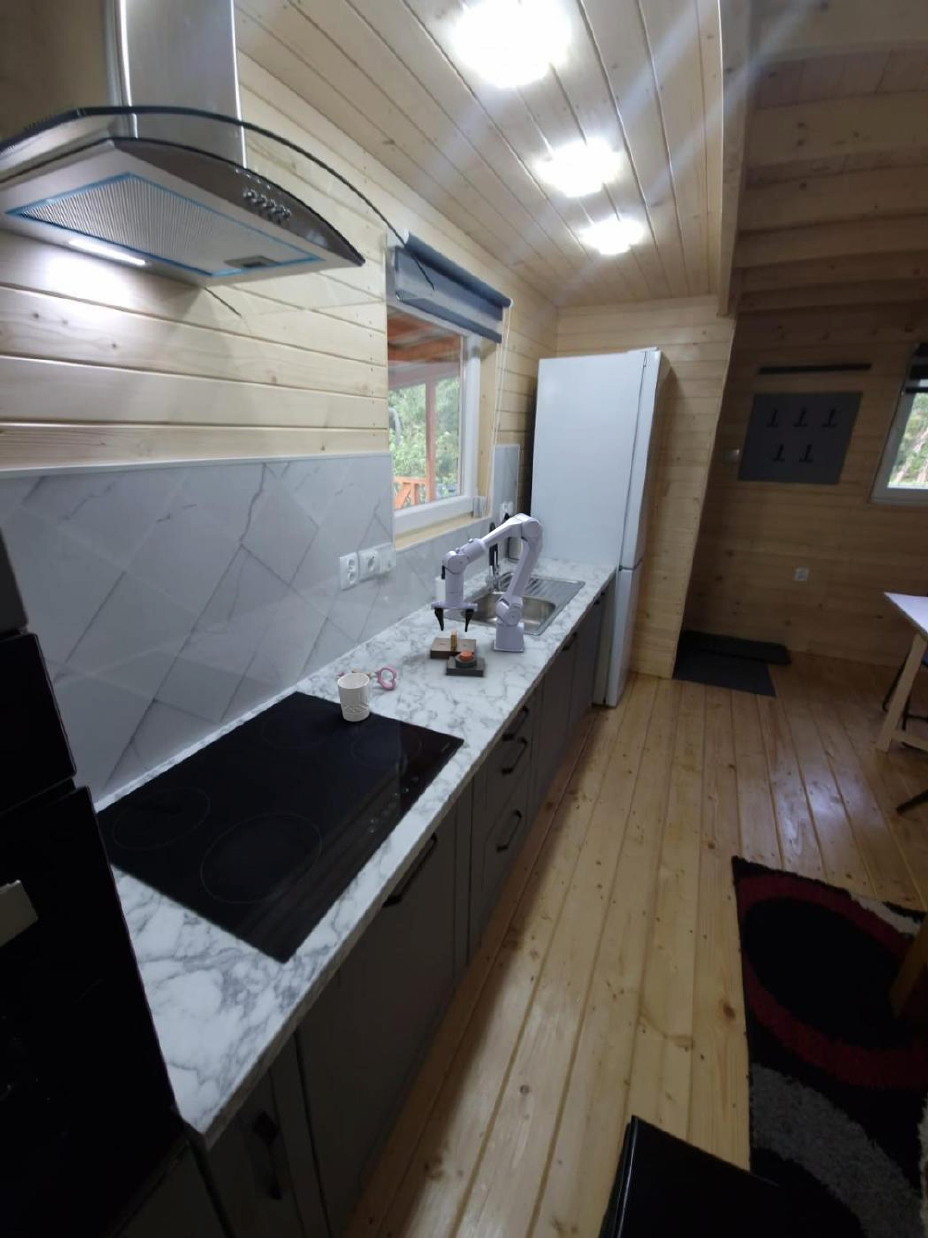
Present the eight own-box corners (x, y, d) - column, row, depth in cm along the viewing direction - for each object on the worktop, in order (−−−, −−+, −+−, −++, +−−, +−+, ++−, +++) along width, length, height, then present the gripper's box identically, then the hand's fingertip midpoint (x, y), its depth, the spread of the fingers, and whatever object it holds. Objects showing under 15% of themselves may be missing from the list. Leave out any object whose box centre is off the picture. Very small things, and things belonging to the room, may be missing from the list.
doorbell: (484, 664, 155) (484, 652, 153) (483, 676, 147) (483, 664, 146) (449, 662, 156) (449, 651, 154) (446, 674, 148) (446, 662, 147)
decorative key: (339, 685, 147) (399, 687, 140) (337, 687, 146) (397, 689, 139) (334, 664, 145) (395, 666, 138) (332, 666, 144) (393, 667, 137)
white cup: (377, 714, 128) (375, 680, 124) (352, 727, 123) (349, 691, 119) (359, 702, 133) (357, 669, 129) (334, 714, 127) (331, 680, 124)
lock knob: (452, 641, 163) (452, 629, 161) (456, 641, 163) (457, 629, 161) (450, 647, 159) (450, 635, 157) (455, 647, 159) (455, 635, 157)
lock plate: (476, 647, 166) (476, 638, 165) (473, 660, 157) (474, 651, 156) (434, 645, 167) (434, 636, 166) (430, 658, 158) (430, 649, 157)
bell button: (472, 656, 152) (472, 651, 151) (471, 661, 148) (471, 656, 148) (460, 655, 152) (460, 650, 151) (459, 661, 149) (459, 655, 148)
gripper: (429, 593, 151) (430, 634, 156) (476, 595, 149) (475, 636, 154) (432, 586, 157) (433, 625, 162) (478, 588, 156) (477, 627, 161)
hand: (454, 630), depth 159 cm, fingers open, 7 cm apart
